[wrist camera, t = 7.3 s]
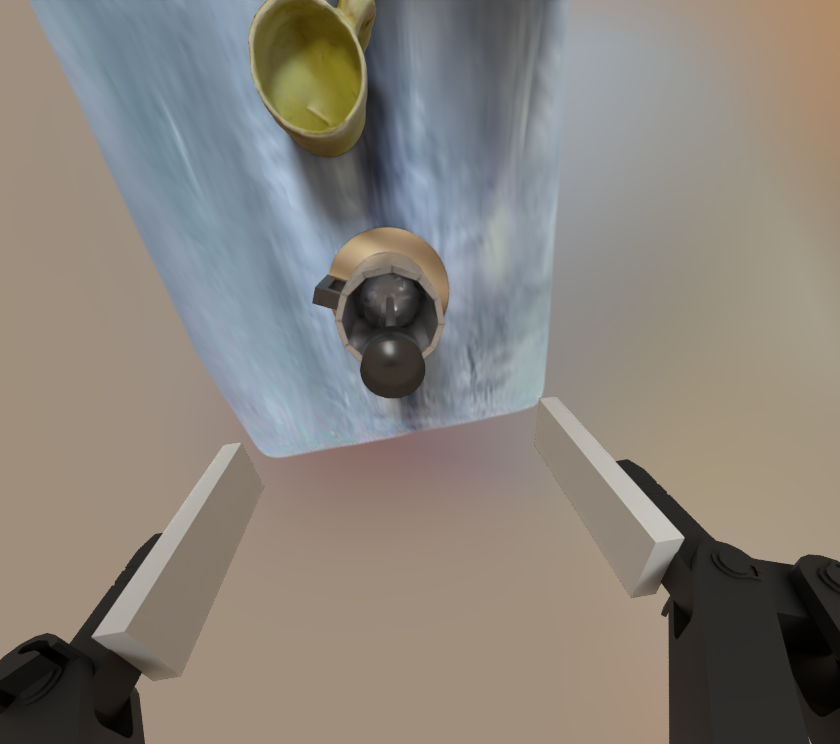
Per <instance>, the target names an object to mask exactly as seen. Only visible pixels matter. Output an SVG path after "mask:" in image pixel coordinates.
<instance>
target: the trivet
mask: <svg viewBox="0 0 840 744" xmlns="http://www.w3.org/2000/svg"><path fill="white" fill-rule="evenodd" d="M385 251H391V252H397V253H401V254H403V255H406V256H408V257H409V258H411V259H412V260H414V261H415V262H416V263H417V264H418V265H419V266H420V268H421V269H422V270H423V272H424V274H425V275H426V276H427V278H428V279H429V281H430V282H431V284H432V285H433V287H434V288H435V290H436V291H437V293H438V294H439V296H440V299H441V305H442V311H443V314H444V312H445V309H446V306H447V302H448V295H449V286H448V278H447V273H446V270H445V268H444V265H443V263H442V261H441V259H440V257H439V256H438V254H437V253H436V252H435V250H434V249H433V248H432V247H431V246H430V245H429V244H428V243H427V242H426V241H424V240H423V239H422V238H420V237H418V236H417V235H415V234H413V233H411V232H409V231H406V230H402V229H399V228H392V227H381V228H375V229H371V230H368V231H365V232H363V233H361V234H358V235H357V236H355V237H354V238H352V239H351V240H350V241H348V242H347V243H346V244H345V245H344V246H343V247H342V249H341V250H340V251H339V252H338V254H337V256H336V257H335V259H334V261H333V263H332V266H331V269H330V272H329V275H331V276H335V277H338V278H341V279H344V280H347V281H348V279H349V278H350V276H351V274H352V272H353V271H354V270H355V269H356V267H357V266H358V265H359V264H360V263H361V262H362V261H363V260H364V259H365V258H367V257H369V256H370V255H373V254H375V253H379V252H385ZM332 311H333V313H334V315H335V317H336V312H337V310H334V309H332Z"/></svg>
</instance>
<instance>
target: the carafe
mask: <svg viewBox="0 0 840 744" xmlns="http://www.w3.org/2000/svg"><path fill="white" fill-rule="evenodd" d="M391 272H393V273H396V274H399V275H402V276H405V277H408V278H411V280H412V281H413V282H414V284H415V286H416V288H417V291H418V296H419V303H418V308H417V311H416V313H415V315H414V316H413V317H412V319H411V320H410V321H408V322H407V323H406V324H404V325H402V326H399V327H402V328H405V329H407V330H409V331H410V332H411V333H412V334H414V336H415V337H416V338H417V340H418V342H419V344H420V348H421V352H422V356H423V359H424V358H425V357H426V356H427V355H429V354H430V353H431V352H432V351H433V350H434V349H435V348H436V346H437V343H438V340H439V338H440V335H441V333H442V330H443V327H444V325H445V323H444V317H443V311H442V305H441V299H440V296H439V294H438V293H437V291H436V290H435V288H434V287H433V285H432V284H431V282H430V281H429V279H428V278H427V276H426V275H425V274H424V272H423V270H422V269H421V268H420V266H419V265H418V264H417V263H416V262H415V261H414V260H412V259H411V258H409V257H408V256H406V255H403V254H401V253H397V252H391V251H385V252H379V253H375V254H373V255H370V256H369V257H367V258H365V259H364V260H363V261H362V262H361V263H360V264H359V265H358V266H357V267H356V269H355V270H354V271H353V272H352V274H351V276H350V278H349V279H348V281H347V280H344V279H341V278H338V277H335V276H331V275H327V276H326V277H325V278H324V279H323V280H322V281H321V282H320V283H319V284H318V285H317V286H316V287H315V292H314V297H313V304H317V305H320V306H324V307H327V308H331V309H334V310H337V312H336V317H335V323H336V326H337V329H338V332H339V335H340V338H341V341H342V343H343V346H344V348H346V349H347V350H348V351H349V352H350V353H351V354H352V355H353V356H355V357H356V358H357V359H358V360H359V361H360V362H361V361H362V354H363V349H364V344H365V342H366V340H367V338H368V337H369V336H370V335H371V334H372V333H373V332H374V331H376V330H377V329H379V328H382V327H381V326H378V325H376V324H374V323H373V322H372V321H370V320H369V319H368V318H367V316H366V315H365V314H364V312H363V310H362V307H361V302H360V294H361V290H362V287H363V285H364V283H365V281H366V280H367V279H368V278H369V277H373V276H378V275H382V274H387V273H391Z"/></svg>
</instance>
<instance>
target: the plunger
mask: <svg viewBox="0 0 840 744" xmlns="http://www.w3.org/2000/svg"><path fill="white" fill-rule="evenodd" d="M360 302H361V307H362V310H363V312H364V314H365V315H366V316H367V318H368V319H369V320H370V321H372V322H373V323H374V324H376V325H378V326H381V327H382V328H379V329H377V330H376V331H374V332H373V333H372V334H371V335H370V336H369V337H368V338H367V340H366V342H365V344H364V349H363V354H362V361H361V367H360V373H361V378H362V380H363V382H364V384H365V385H366V387H367V388H368V389H369V390H370V391H371V392H373V393H374V394H376V395H378V396H381V397H384V398H401V397H404V396H407V395H409V394H411V393H412V392H414V391H415V390H416V389H417V388H418V387H419V386H420V384H421V383H422V381H423V379H424V375H425V363H424V359H423V356H422V352H421V348H420V344H419V342H418V340H417V338H416V337H415V336H414V334H412V333H411V332H410V331H409V330H407V329H405V328H402V327H399V326H402V325H404V324H406V323H407V322H408V321H410V320H411V319H412V317H413V316H414V315H415V313H416V311H417V308H418V303H419V296H418V291H417V288H416V286H415V284H414V282H413V281H412V280H411V278H408V277H405V276H402V275H399V274H396V273H393V272H391V273H387V274H382V275H378V276H373V277H369V278H368V279H367V280H366V281H365V283H364V285H363V287H362V290H361V294H360Z"/></svg>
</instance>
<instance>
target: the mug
mask: <svg viewBox="0 0 840 744" xmlns="http://www.w3.org/2000/svg"><path fill="white" fill-rule="evenodd" d="M375 16H376V6H375V2H374V0H339V2H338V6H337V7H336V8H334V7H332V6H331V5H330V4H329V3H328V2H327V1H325V0H268V1H266V2H265V3H264V4H263V5H262V6H261V7H260V9H259V11H258V12H257V13H256V15H255V16H254V19H253V21H252V24H251V28H250V33H249V40H248V44H249V53H250V63H251V74H252V77H253V80H254V83H255V86H256V88H257V91H258V93H259V95H260V97H261V98H262V101H263V103H264V105H265V106H266V108H267V109H268V111H269V112H270V113H271V115H272V116H273V118H274V119H275V121H276V122H277V123H278V124H279V126H280V127H281V128H283V129H284V130H285V131H286V132H287V133H288V134H290V135H291V137H292V138H293V139H294V140H295V141H296V142H297V143H298V144H299V145H300V146H301V147H303V148H304V149H305V150H307V151H308V152H310V153H312V154H314V155H317V156H321V157H327V158H330V157H335V156H339V155H342V154H344V153H346V152H347V151H348V150H350V149H351V148H352V147H353V146H354V145H355V144H356V142H357V141H358V139H359V138H360V136H361V134H362V131H363V128H364V125H365V121H366V101H367V91H368V89H367V67H366V63H365V58H364V53H365V50H366V48H367V47H368V44H369V40H370V37H371V32H372V27H373V24H374V20H375Z"/></svg>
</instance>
